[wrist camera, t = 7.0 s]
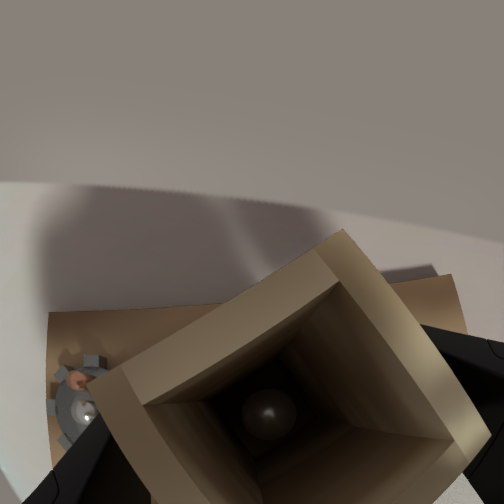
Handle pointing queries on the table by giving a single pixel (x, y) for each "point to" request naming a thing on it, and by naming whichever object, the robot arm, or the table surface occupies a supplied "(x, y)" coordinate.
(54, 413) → the drive gear
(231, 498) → the open-ended square tube
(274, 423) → the peg
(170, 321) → the gear board
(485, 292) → the table surface
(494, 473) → the robot arm
